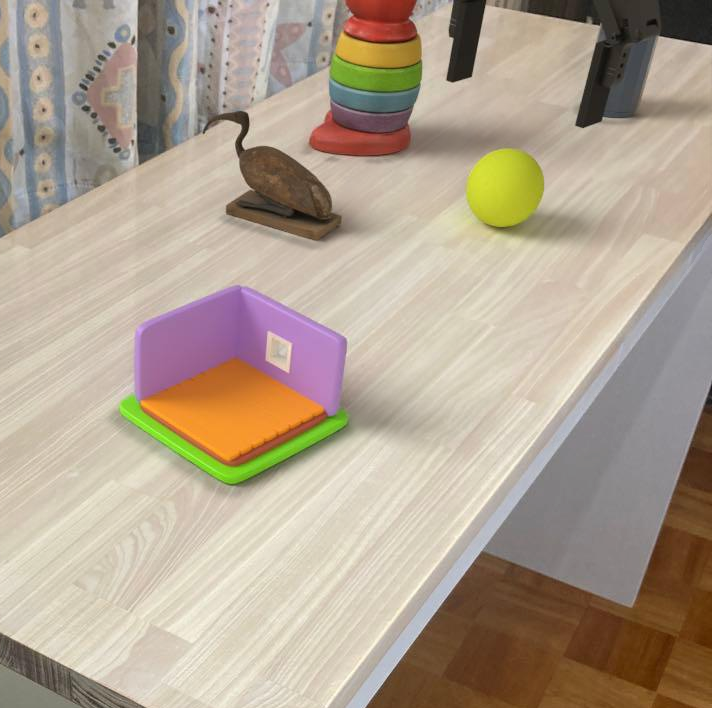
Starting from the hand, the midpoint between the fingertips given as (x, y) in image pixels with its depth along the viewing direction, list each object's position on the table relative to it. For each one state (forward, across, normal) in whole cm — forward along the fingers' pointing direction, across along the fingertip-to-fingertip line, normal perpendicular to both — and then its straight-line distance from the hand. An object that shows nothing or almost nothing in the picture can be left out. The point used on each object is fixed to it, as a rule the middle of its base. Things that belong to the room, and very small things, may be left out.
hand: (520, 100), depth 98 cm
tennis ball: (+8, 0, 0) cm, 8 cm away
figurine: (+12, -14, -16) cm, 24 cm away
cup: (+11, -12, +36) cm, 39 cm away
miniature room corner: (+11, +9, -41) cm, 43 cm away
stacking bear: (+11, -22, +6) cm, 25 cm away
